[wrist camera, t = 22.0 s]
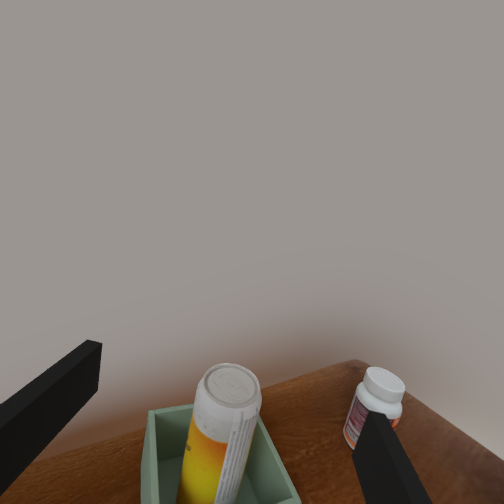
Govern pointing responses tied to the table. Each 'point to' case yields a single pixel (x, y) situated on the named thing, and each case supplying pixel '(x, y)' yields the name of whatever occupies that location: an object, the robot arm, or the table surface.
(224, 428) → the beer can
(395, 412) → the pill bottle
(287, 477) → the trash bin
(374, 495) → the robot arm
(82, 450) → the table surface
